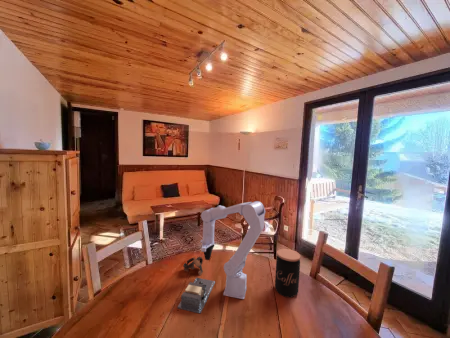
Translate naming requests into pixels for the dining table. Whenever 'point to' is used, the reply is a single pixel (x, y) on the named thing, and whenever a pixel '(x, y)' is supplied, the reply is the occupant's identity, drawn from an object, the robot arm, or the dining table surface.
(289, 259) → the coffee jar
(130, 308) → the dining table surface
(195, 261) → the pottery mug
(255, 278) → the dining table surface
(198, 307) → the vise
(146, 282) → the dining table surface
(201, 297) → the jaw
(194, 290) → the block
